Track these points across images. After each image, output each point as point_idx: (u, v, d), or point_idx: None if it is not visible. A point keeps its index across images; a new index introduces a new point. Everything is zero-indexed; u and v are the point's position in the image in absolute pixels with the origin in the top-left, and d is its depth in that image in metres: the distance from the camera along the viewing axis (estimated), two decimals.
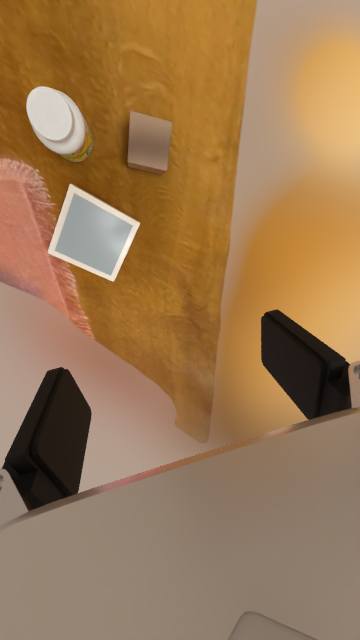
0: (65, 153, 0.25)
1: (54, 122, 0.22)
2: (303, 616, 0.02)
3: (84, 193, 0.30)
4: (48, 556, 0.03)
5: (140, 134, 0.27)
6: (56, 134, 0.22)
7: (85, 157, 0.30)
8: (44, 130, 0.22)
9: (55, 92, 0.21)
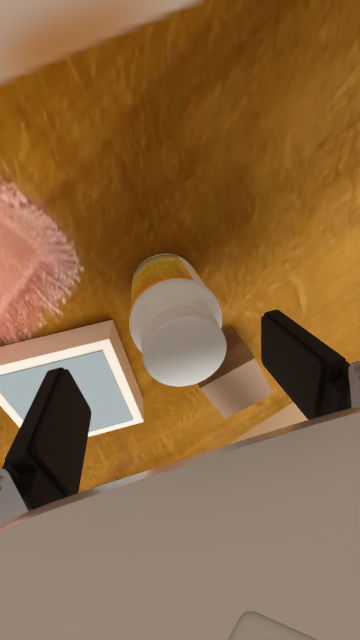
0: None
1: (180, 365, 0.11)
2: (303, 616, 0.02)
3: (114, 359, 0.18)
4: (48, 556, 0.03)
5: (239, 379, 0.19)
6: (165, 376, 0.11)
7: None
8: (155, 362, 0.10)
9: (224, 345, 0.11)
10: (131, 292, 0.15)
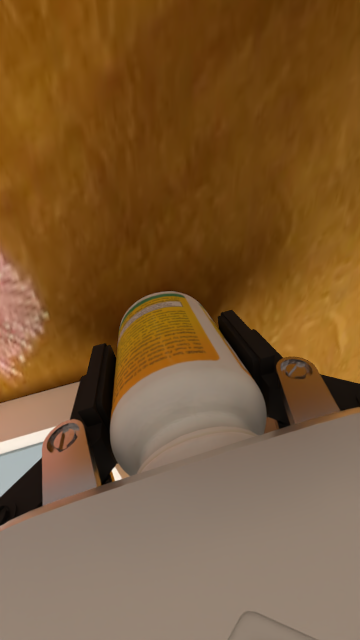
0: None
1: None
2: (303, 617, 0.02)
3: None
4: (48, 556, 0.03)
5: None
6: None
7: None
8: None
9: None
10: (116, 357, 0.10)
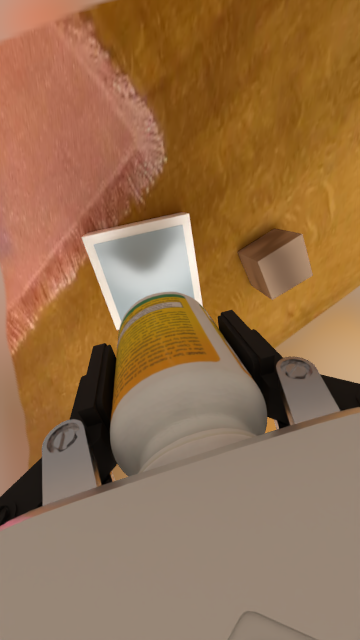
0: None
1: None
2: (302, 614, 0.02)
3: (190, 235, 0.22)
4: (48, 556, 0.03)
5: (288, 256, 0.23)
6: None
7: None
8: None
9: None
10: (116, 358, 0.10)
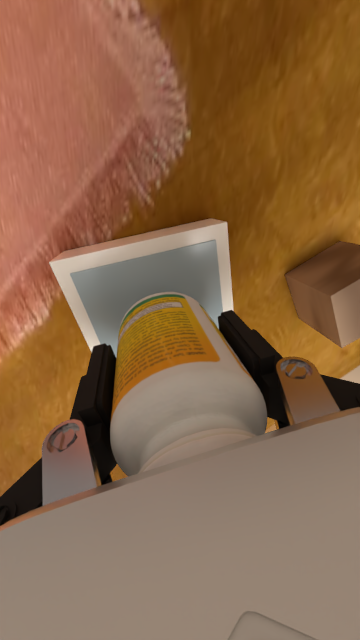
0: None
1: None
2: (303, 616, 0.02)
3: (226, 256, 0.14)
4: (48, 556, 0.03)
5: None
6: None
7: None
8: None
9: None
10: (116, 358, 0.10)
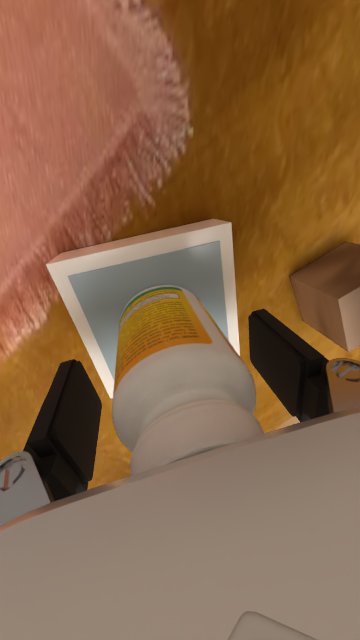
0: None
1: None
2: (302, 614, 0.02)
3: (230, 257, 0.13)
4: (48, 556, 0.03)
5: None
6: None
7: None
8: None
9: None
10: (117, 346, 0.11)
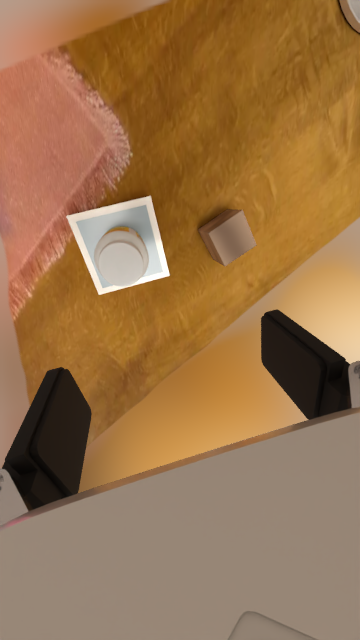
0: None
1: (119, 272, 0.20)
2: (304, 616, 0.02)
3: (153, 213, 0.28)
4: (48, 556, 0.03)
5: (233, 228, 0.29)
6: (112, 279, 0.21)
7: None
8: (105, 269, 0.20)
9: (141, 260, 0.20)
10: None
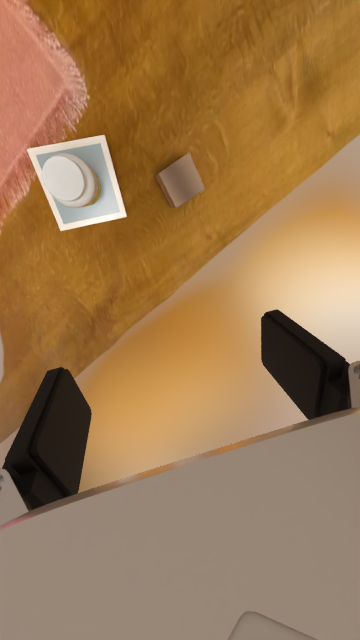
0: (56, 199, 0.26)
1: (62, 185, 0.23)
2: (302, 614, 0.02)
3: (107, 152, 0.31)
4: (48, 556, 0.03)
5: (182, 170, 0.32)
6: (55, 192, 0.24)
7: None
8: (48, 181, 0.23)
9: (81, 175, 0.23)
10: None
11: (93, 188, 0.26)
